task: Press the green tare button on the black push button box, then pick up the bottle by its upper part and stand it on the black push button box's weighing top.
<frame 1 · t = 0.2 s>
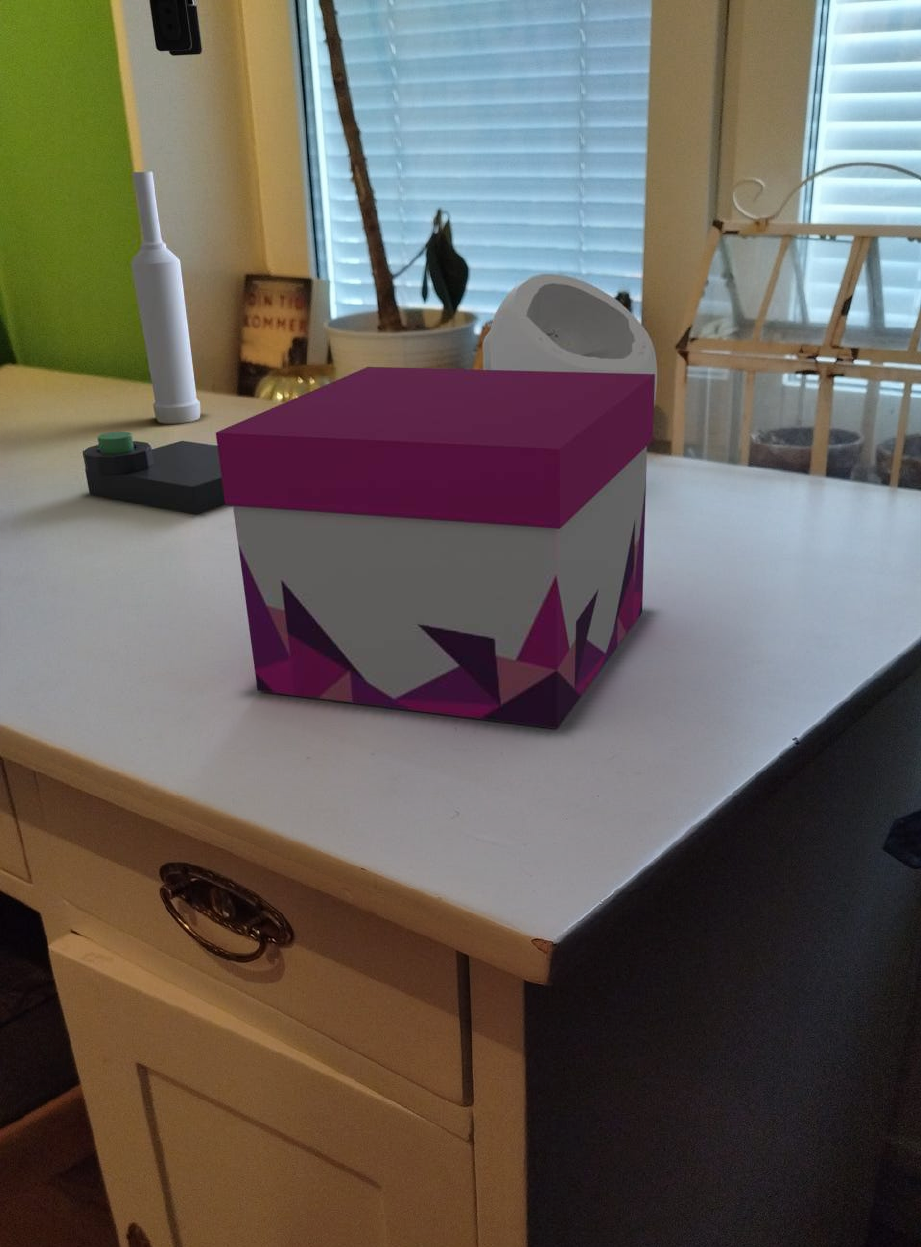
hand: (180, 53, 120), 35 cm above the table, tool pointing down, fingers open, 9 cm apart
decorative box: (460, 653, 78), on the table
bottle: (178, 421, 143), on the table
black push button box: (190, 488, 116), on the table
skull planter: (559, 477, 114), on the table
tare button: (116, 444, 113), point 4 cm above the table, slide at 0.1 cm
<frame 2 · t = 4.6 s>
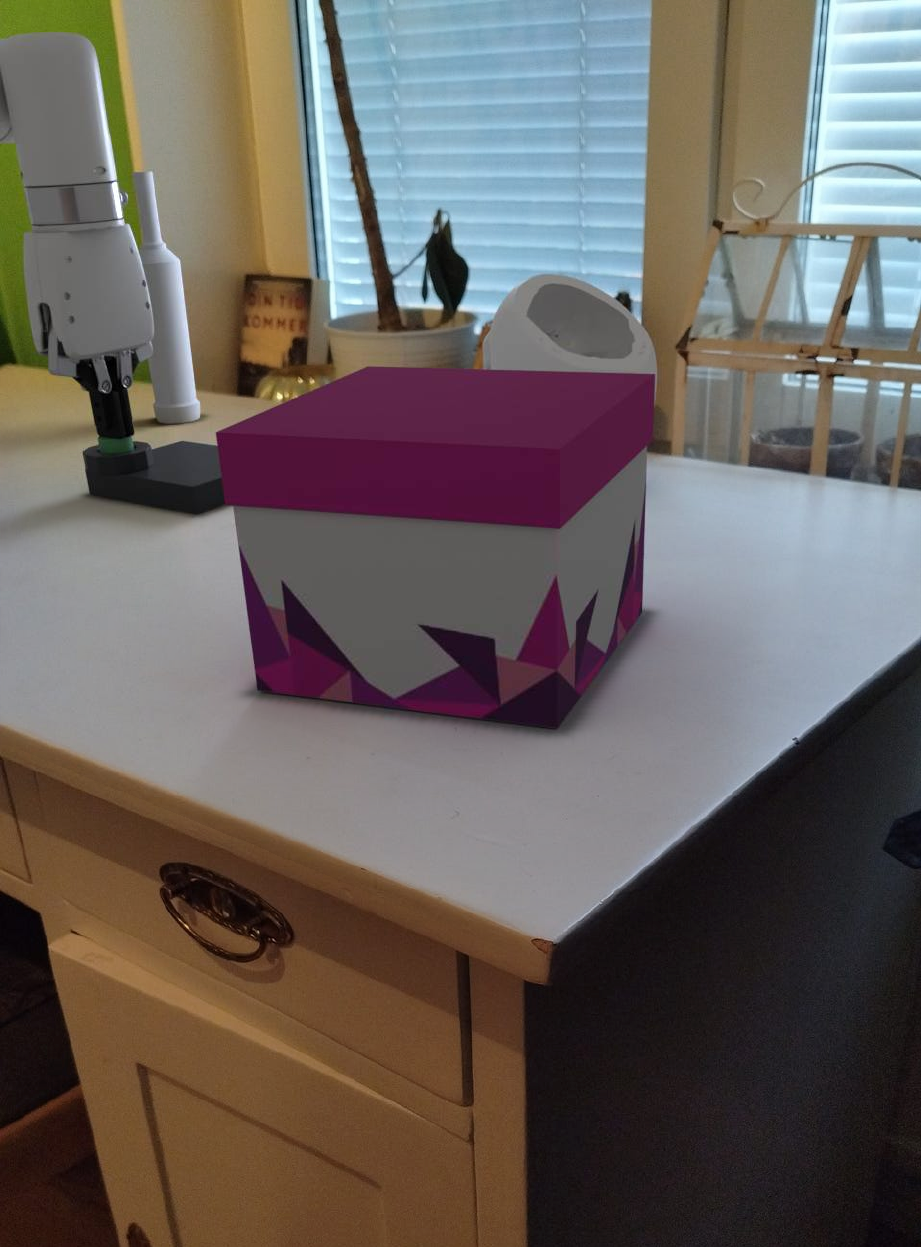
hand: (116, 435, 113), 5 cm above the table, tool pointing down, fingers closed
tare button: (116, 444, 113), point 4 cm above the table, slide at 0.1 cm, touching gripper
everything else where it was.
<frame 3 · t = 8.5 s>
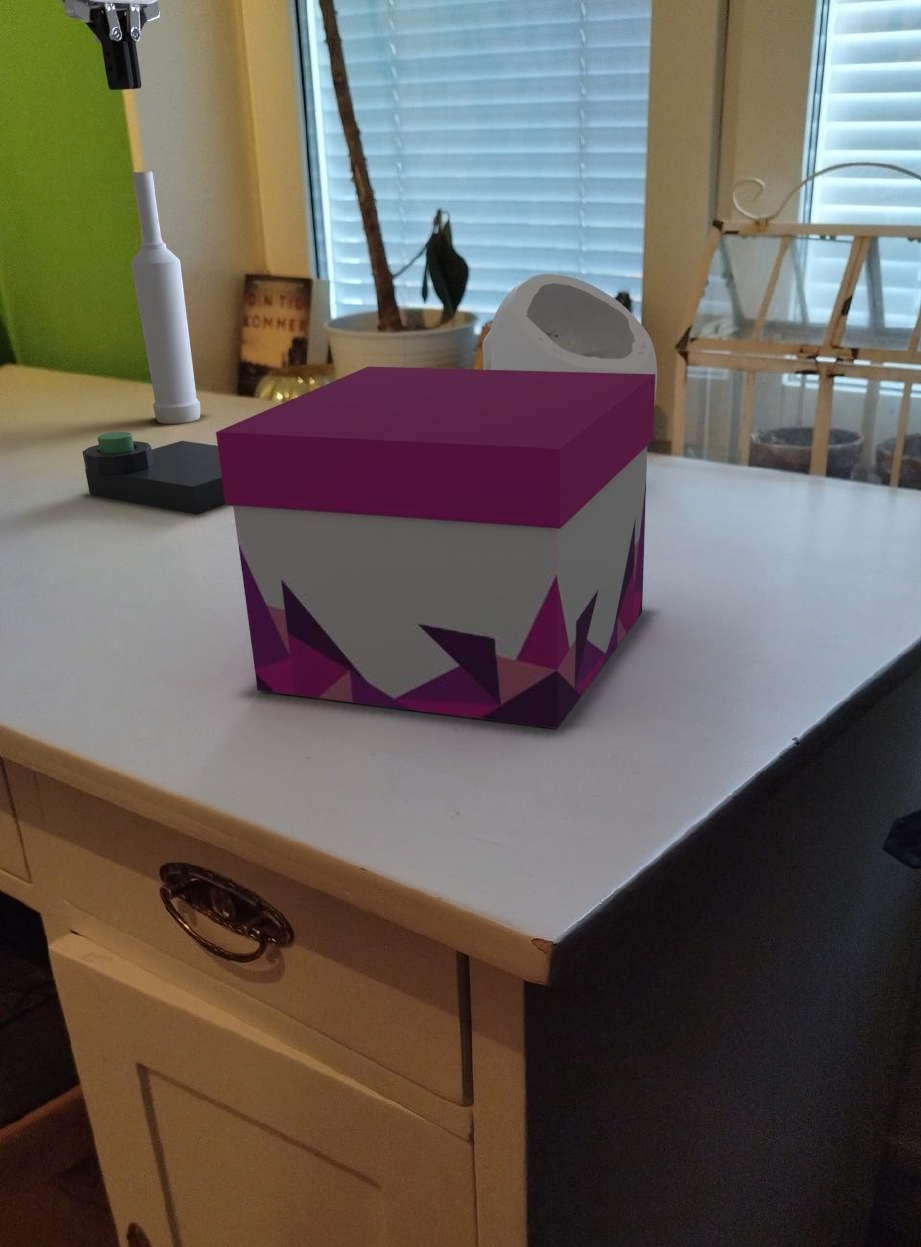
hand: (125, 89, 126), 32 cm above the table, tool pointing down, fingers closed
tare button: (116, 444, 113), point 4 cm above the table, slide at 0.1 cm
everything else where it was.
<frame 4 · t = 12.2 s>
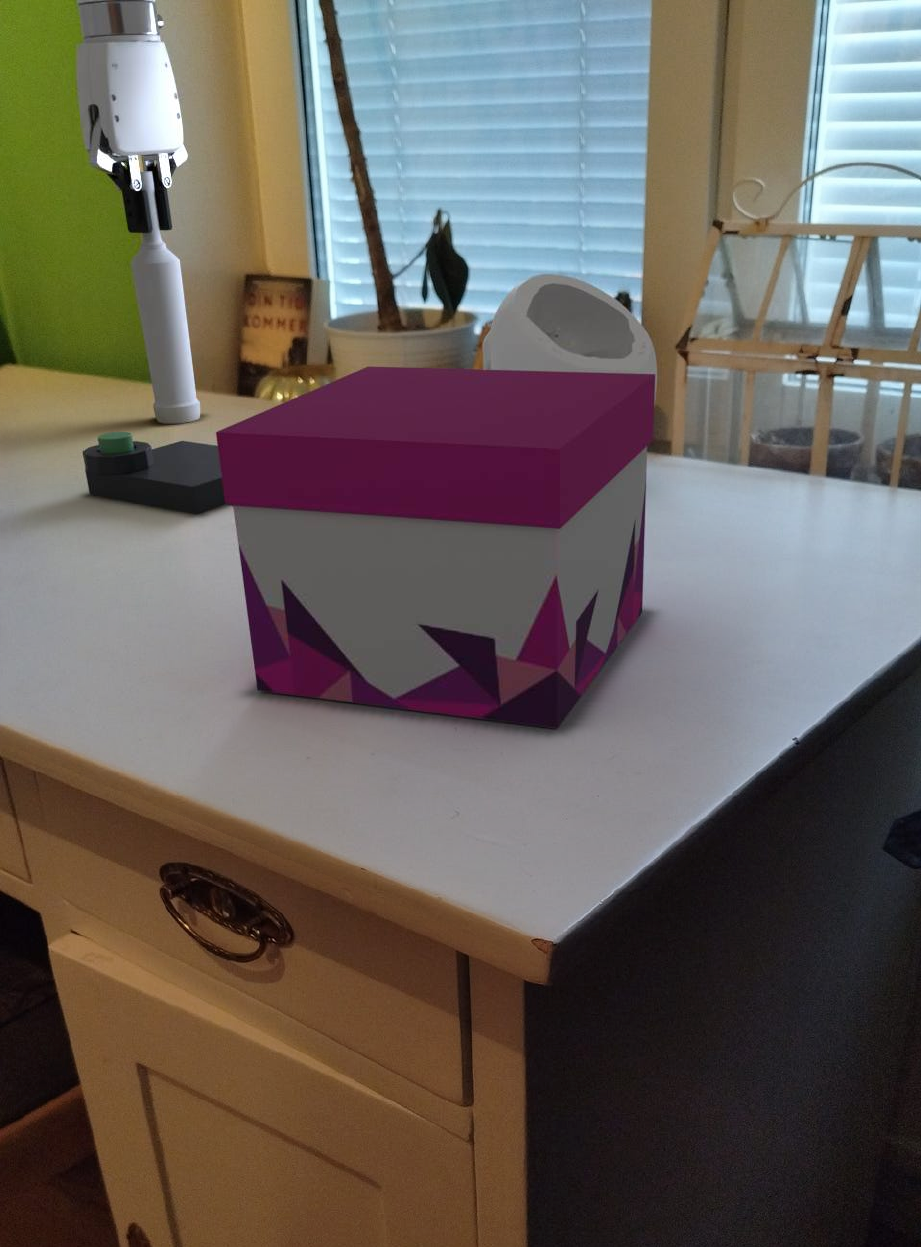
hand: (150, 230, 133), 20 cm above the table, tool pointing down, fingers closed on bottle, 2 cm apart
bottle: (178, 420, 143), on the table, touching gripper
everything else where it was.
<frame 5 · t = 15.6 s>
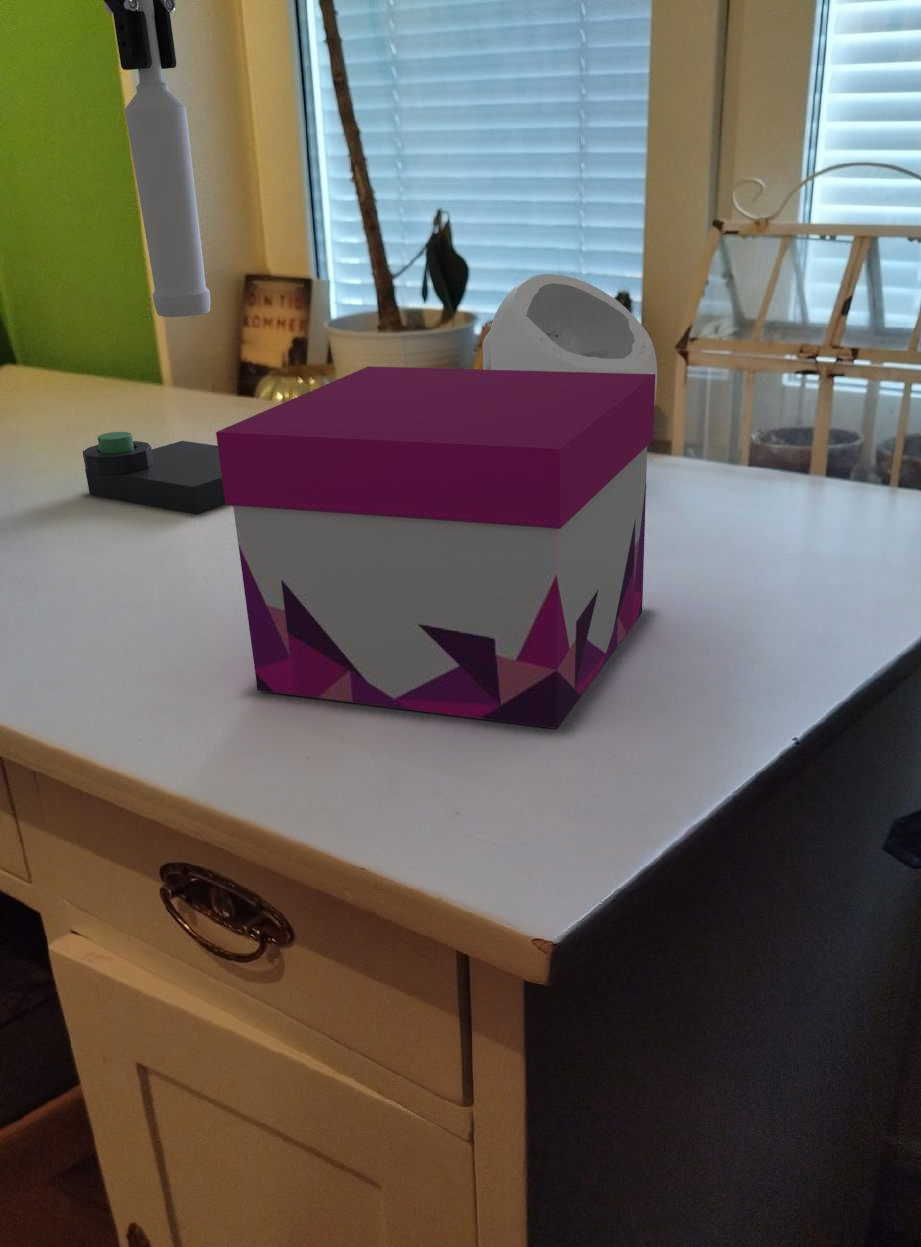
hand: (149, 67, 107), 34 cm above the table, tool pointing down, fingers closed on bottle
bottle: (184, 315, 116), point 14 cm above the table, touching gripper
everything else where it was.
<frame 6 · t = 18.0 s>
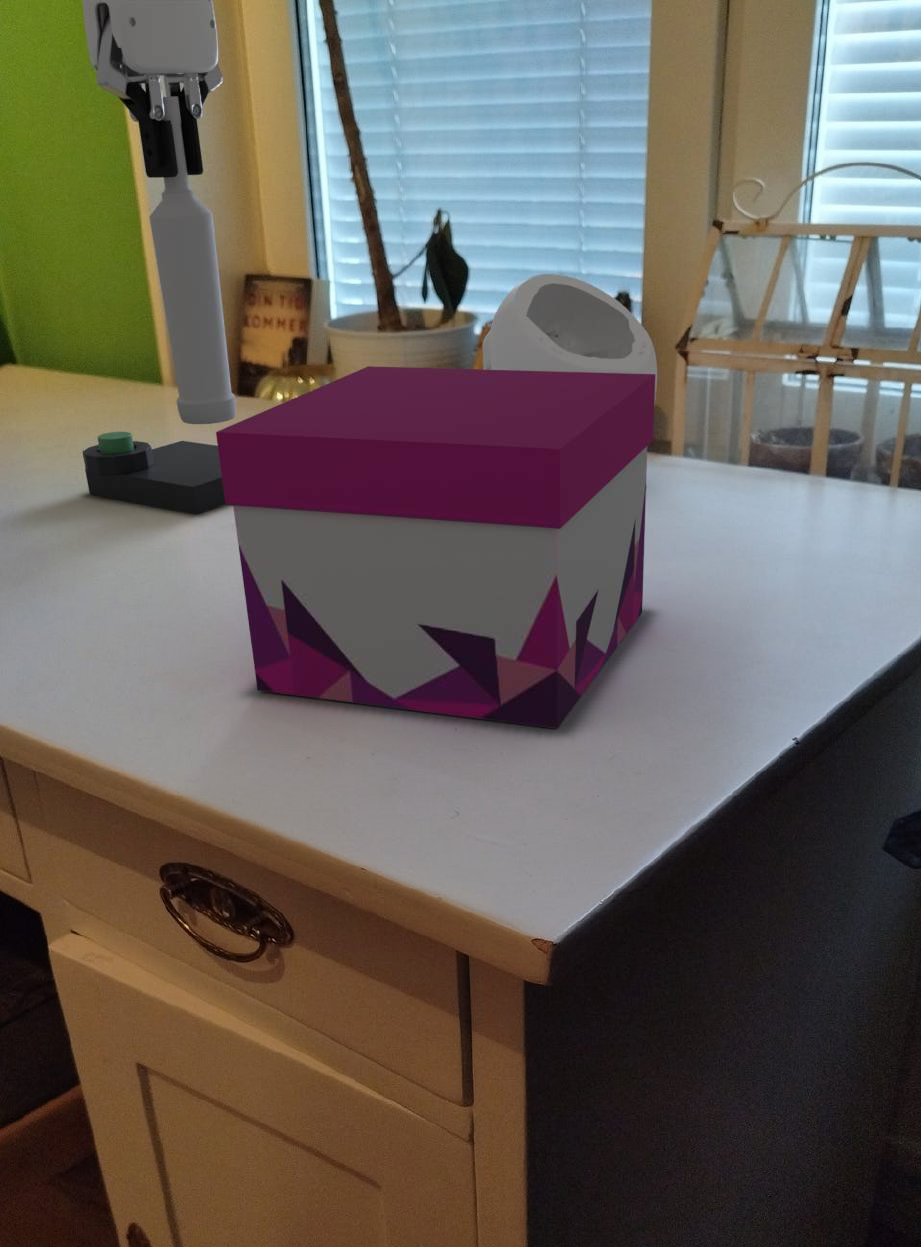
hand: (174, 174, 103), 26 cm above the table, tool pointing down, fingers closed on bottle
bottle: (208, 420, 113), point 6 cm above the table, touching gripper
everything else where it was.
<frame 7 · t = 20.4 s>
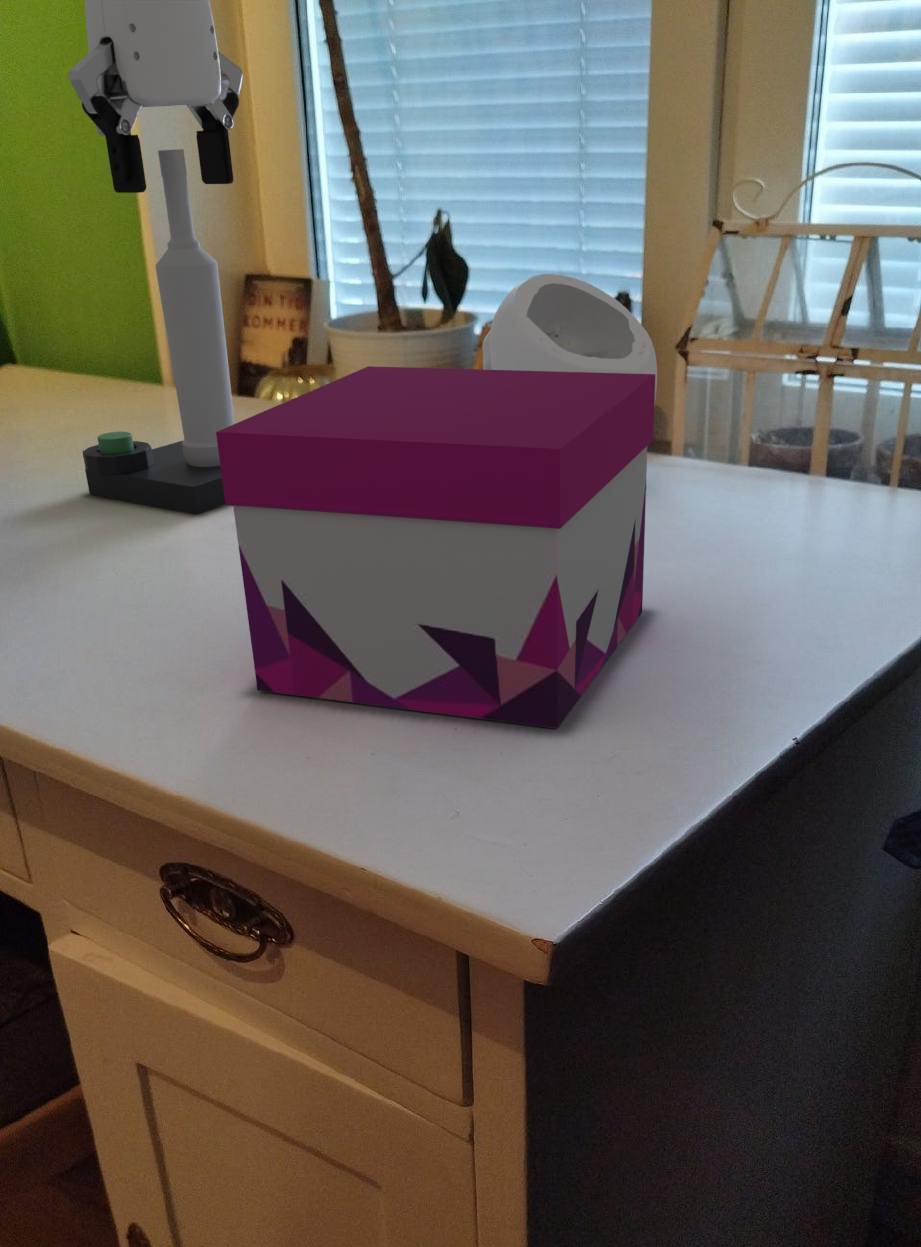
hand: (175, 188, 104), 25 cm above the table, tool pointing down, fingers open, 9 cm apart
bottle: (213, 462, 115), point 2 cm above the table, touching black push button box
everything else where it was.
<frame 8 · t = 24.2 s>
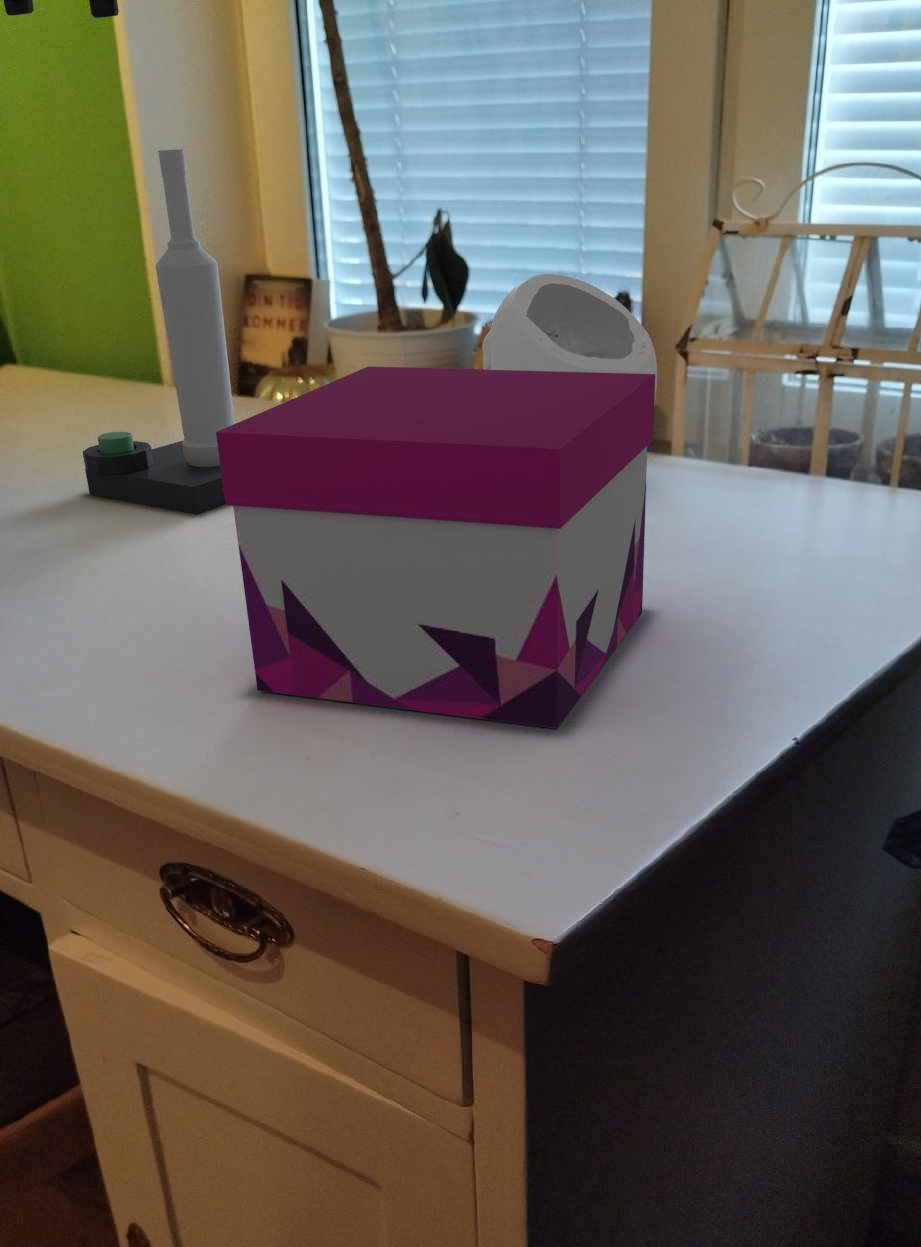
hand: (64, 15, 115), 38 cm above the table, tool pointing down, fingers open, 9 cm apart
nothing on the table moved.
at the end: tare button pushed in 0.9 cm at the most during the clip, back to where it started at the end; bottle inside the target area on the black push button box (1.3 cm from its centre), point 2.2 cm above the black push button box's base; bottle touching black push button box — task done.
